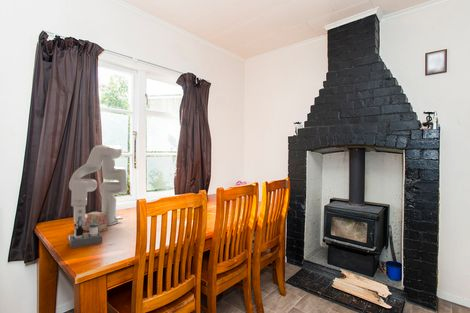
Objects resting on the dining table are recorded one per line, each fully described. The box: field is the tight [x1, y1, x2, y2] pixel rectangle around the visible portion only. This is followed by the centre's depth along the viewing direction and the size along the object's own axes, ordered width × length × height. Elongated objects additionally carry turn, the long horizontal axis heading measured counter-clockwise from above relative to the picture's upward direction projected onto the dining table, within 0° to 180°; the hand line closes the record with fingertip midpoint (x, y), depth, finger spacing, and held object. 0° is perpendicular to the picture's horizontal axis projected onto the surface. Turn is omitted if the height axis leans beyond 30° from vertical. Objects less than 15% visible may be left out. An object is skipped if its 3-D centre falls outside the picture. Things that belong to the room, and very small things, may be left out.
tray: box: [67, 232, 88, 242], centre depth 151 cm, size 11×9×2 cm
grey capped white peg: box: [89, 223, 98, 237], centre depth 144 cm, size 4×4×10 cm
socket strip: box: [69, 231, 103, 249], centre depth 142 cm, size 15×9×6 cm, turn 127°
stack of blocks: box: [83, 211, 108, 233], centre depth 168 cm, size 21×6×12 cm, turn 65°
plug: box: [73, 225, 83, 239], centre depth 139 cm, size 4×4×10 cm
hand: (78, 233), depth 139 cm, fingers open, 9 cm apart
